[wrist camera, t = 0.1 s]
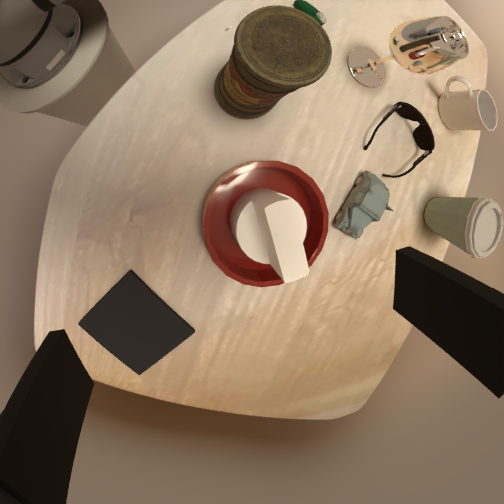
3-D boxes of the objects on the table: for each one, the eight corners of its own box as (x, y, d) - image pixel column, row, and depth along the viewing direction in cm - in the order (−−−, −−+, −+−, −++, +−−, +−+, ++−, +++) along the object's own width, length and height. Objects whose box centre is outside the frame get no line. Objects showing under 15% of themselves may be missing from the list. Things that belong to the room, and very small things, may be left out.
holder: (79, 321, 40) (77, 324, 39) (131, 269, 40) (130, 271, 39) (139, 372, 45) (139, 375, 45) (195, 329, 45) (195, 332, 44)
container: (245, 50, 33) (283, -14, 17) (289, 92, 37) (354, 54, 20) (199, 89, 34) (207, 36, 17) (246, 132, 37) (288, 110, 20)
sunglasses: (424, 144, 43) (441, 147, 39) (385, 185, 46) (400, 191, 41) (395, 97, 39) (411, 96, 35) (350, 137, 42) (365, 138, 37)
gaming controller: (266, 41, 35) (295, 50, 32) (257, 23, 31) (288, 30, 29) (303, 14, 34) (333, 22, 32) (297, -3, 31) (328, 3, 28)
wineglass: (365, 40, 35) (447, 2, 17) (392, 75, 38) (480, 55, 20) (337, 58, 36) (422, 15, 17) (367, 96, 39) (460, 76, 20)
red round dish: (177, 213, 39) (176, 220, 34) (270, 137, 38) (280, 134, 34) (251, 293, 45) (258, 309, 40) (332, 225, 44) (348, 233, 39)
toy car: (330, 223, 44) (345, 230, 39) (360, 170, 42) (378, 172, 38) (358, 242, 46) (374, 250, 41) (386, 191, 44) (404, 196, 40)
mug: (463, 111, 43) (500, 111, 33) (453, 137, 44) (492, 139, 34) (431, 70, 39) (469, 62, 29) (420, 95, 40) (461, 89, 30)
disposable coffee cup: (426, 249, 50) (481, 275, 36) (407, 208, 46) (469, 228, 32) (454, 215, 50) (508, 234, 36) (437, 174, 46) (497, 185, 32)
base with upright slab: (297, 238, 43) (333, 266, 32) (240, 258, 42) (259, 294, 31) (282, 180, 40) (318, 188, 29) (221, 199, 39) (234, 215, 28)
